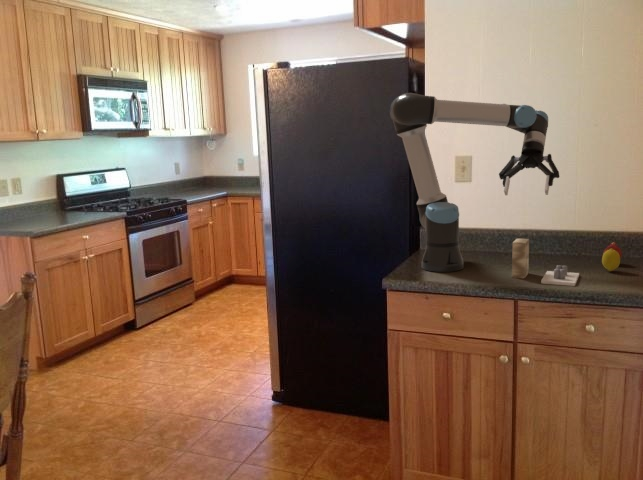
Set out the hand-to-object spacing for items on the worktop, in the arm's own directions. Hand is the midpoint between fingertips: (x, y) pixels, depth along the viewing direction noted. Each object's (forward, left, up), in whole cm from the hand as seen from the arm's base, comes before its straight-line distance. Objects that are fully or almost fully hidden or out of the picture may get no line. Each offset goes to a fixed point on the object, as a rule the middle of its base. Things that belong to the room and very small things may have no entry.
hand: (525, 192), depth 205 cm
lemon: (+27, +5, -27) cm, 39 cm away
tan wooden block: (0, -10, -27) cm, 29 cm away
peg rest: (+13, -12, -27) cm, 32 cm away
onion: (+27, +17, -27) cm, 42 cm away
